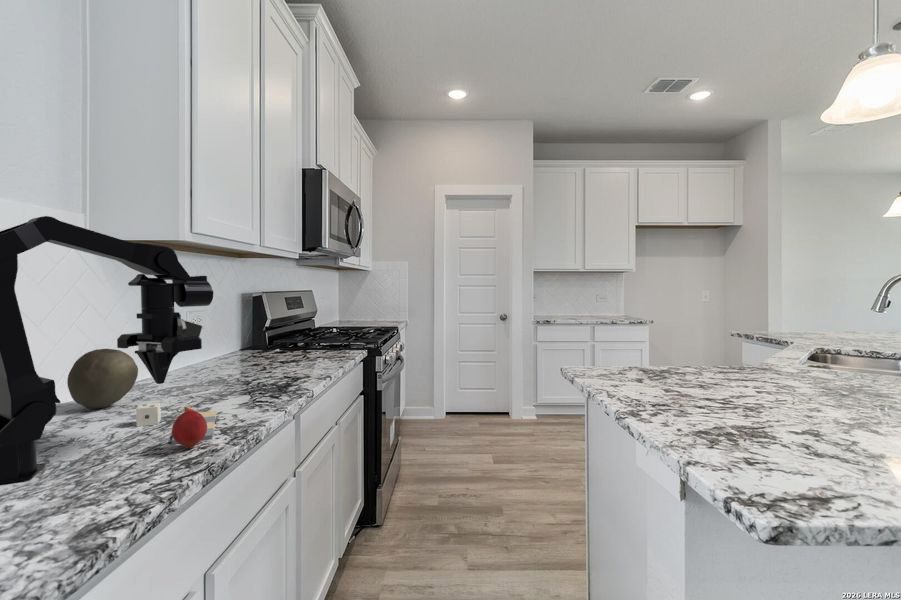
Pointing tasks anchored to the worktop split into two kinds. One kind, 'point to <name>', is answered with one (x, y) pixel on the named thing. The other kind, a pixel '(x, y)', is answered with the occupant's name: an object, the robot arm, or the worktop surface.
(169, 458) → the worktop surface
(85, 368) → the cantaloupe
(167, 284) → the robot arm
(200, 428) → the onion
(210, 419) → the track
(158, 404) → the die
